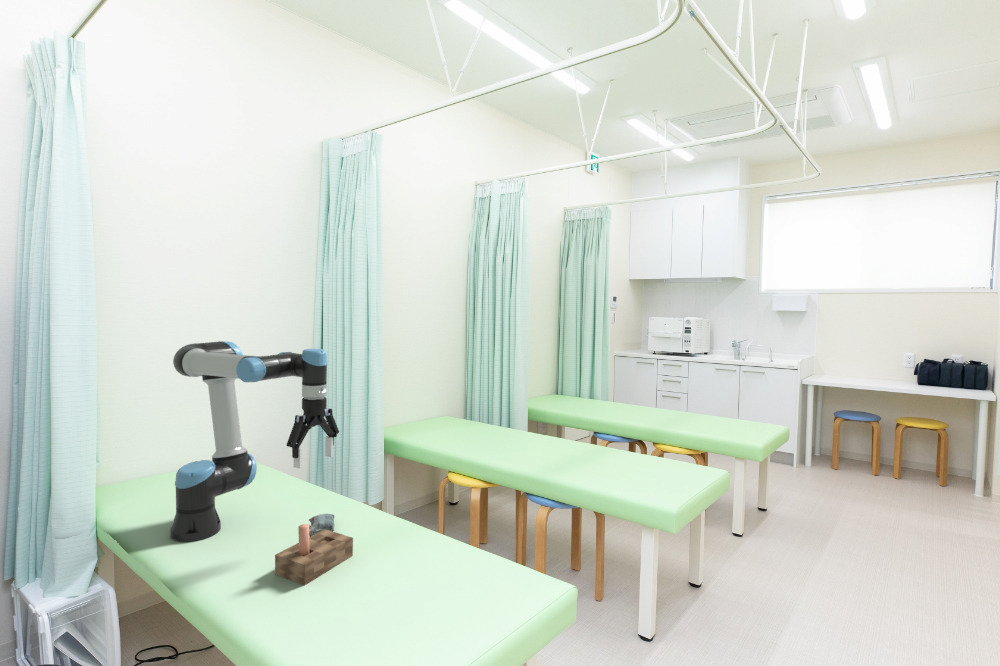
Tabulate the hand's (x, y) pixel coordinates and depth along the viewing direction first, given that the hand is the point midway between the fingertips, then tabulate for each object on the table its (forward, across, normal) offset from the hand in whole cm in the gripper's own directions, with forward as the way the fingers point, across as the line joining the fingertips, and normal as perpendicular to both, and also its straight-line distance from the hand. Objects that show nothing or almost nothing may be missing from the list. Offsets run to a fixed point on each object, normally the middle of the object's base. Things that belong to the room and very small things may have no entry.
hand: (313, 461), depth 176 cm
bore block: (+29, -8, -9) cm, 31 cm away
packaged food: (+29, +10, +7) cm, 32 cm away
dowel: (+27, -12, -9) cm, 31 cm away
